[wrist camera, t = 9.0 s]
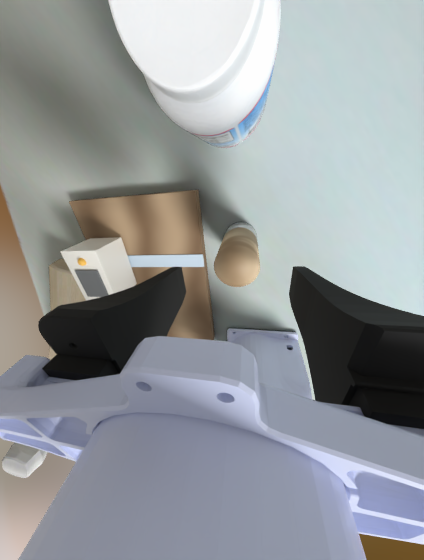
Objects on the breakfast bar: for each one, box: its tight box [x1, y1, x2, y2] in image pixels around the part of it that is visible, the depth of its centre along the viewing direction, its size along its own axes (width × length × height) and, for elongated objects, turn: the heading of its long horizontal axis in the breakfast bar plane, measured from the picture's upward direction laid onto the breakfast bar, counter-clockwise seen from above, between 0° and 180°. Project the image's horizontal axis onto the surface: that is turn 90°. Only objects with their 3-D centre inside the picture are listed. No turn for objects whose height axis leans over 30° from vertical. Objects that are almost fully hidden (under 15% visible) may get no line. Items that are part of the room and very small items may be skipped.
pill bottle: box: [108, 0, 281, 148], centre depth 10 cm, size 6×6×11 cm
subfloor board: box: [69, 190, 215, 340], centre depth 24 cm, size 14×20×1 cm
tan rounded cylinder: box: [214, 222, 260, 287], centre depth 17 cm, size 3×3×7 cm
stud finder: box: [60, 237, 137, 301], centre depth 20 cm, size 4×6×4 cm, turn 5°
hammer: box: [2, 259, 86, 478], centre depth 28 cm, size 16×5×30 cm
